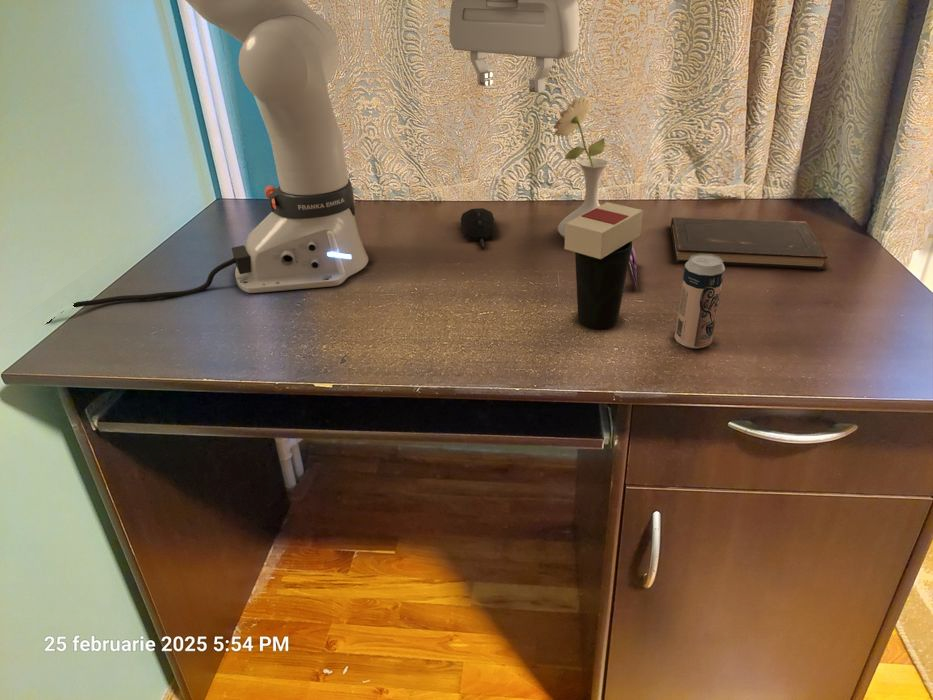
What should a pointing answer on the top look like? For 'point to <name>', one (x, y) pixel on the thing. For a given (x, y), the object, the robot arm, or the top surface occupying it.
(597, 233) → the packet
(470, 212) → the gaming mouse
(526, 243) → the top surface
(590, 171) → the flower in vase
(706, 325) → the beer can
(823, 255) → the hardcover book
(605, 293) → the cup
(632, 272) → the purple toy figure frame
